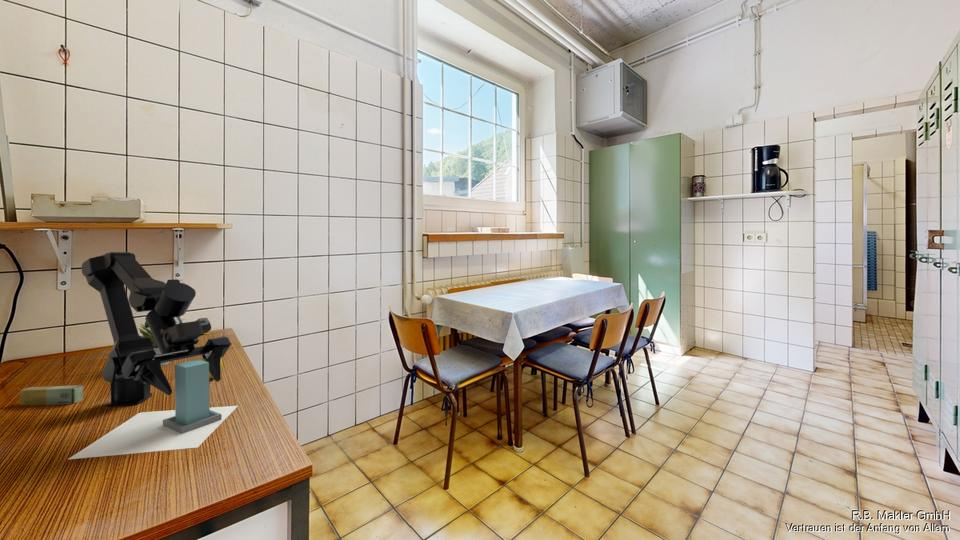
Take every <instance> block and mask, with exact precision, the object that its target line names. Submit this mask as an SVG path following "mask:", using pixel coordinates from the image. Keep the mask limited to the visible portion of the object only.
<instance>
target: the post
mask: <svg viewBox="0 0 960 540" xmlns="http://www.w3.org/2000/svg"><path fill="white" fill-rule="evenodd" d="M174 402H175V403H174V407H175V409H174V410H175V418H176V423H177V424H179V425H182V426H186V425H188V424H191V423H194V422H197V421H200V420H203V419H206V418H209V417H210V409H209V408H210V378H209V362H205V361H202V359H195V360H190V361H185V362H179V363H175V364H174Z"/></svg>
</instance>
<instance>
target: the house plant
mask: <svg viewBox="0 0 960 540" xmlns="http://www.w3.org/2000/svg"><path fill="white" fill-rule="evenodd" d="M184 320H186V318H182V319H181V321H182V322H183V321H184ZM135 324H139V327H137V330H139V334H141V335H140V336H141V337H143V338H147V337H148V338H149V339H150V340H151V344H152V347H153V349H154V351H155V352H156V355H157V354H161V352H160V350H159V348H158V347H154V345H153V343H154V341H155V339H154V337H153V335H152V333H151V330H150V328H145V324H142V323H140V322H137V321H135ZM168 364H170V362H165V363H161V367H162V366H166V365H168Z"/></svg>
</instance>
